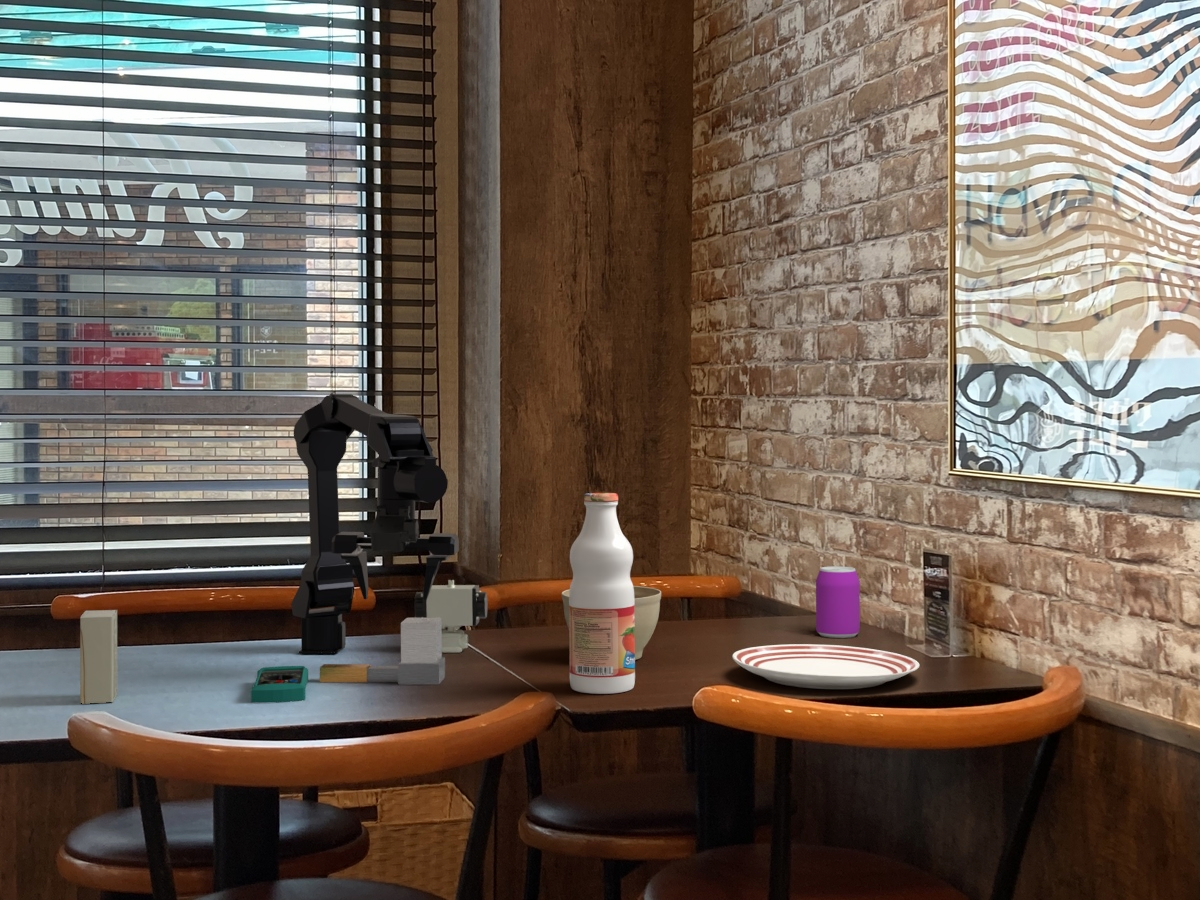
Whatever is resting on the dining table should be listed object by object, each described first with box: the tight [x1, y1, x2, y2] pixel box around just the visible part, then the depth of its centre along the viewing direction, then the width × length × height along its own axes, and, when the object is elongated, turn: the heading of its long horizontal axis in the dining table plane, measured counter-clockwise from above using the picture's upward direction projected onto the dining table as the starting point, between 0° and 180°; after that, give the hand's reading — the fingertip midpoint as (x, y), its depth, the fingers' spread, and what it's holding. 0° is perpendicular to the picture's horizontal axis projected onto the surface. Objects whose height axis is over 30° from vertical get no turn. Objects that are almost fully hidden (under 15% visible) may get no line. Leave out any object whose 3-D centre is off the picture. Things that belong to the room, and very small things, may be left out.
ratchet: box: [319, 656, 446, 686], centre depth 192 cm, size 18×6×6 cm, turn 88°
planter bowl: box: [561, 585, 662, 661], centre depth 209 cm, size 16×16×11 cm
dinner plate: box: [731, 643, 920, 690], centre depth 192 cm, size 28×27×3 cm
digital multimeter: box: [250, 665, 309, 703], centre depth 184 cm, size 7×15×3 cm, turn 11°
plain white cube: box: [400, 617, 443, 664], centre depth 192 cm, size 5×5×6 cm
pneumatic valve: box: [414, 579, 489, 654], centre depth 217 cm, size 6×12×12 cm, turn 89°
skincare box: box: [79, 609, 118, 705], centre depth 180 cm, size 6×4×12 cm
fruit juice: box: [568, 492, 636, 695], centre depth 185 cm, size 9×9×28 cm
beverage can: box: [815, 565, 861, 639], centre depth 230 cm, size 8×8×12 cm
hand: (395, 599), depth 198 cm, fingers open, 9 cm apart
